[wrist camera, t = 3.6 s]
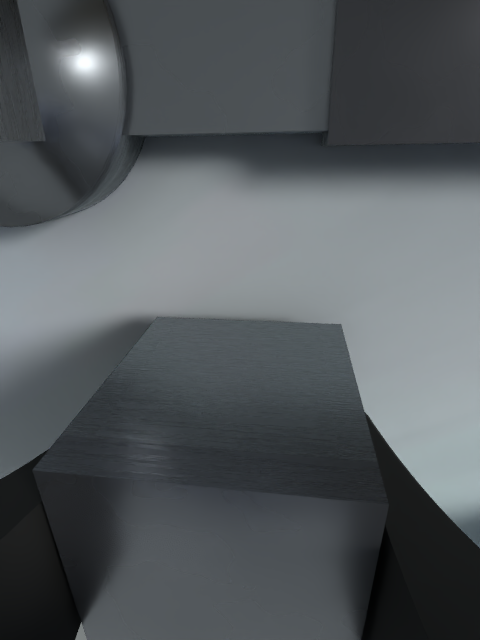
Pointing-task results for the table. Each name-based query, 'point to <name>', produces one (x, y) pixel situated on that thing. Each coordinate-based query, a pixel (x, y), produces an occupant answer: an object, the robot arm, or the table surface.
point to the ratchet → (218, 83)
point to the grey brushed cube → (220, 488)
